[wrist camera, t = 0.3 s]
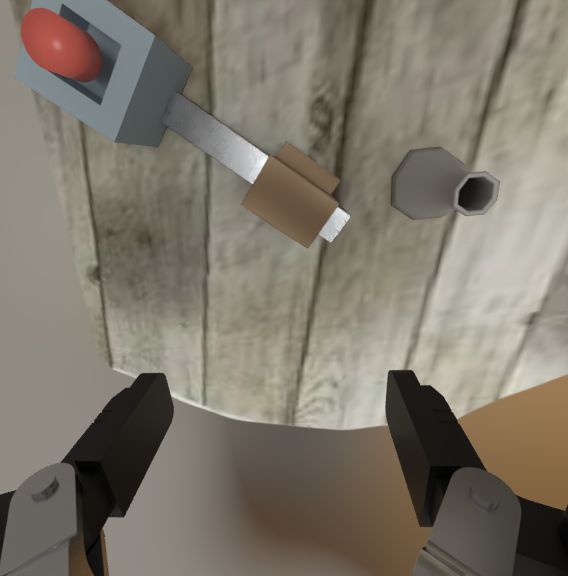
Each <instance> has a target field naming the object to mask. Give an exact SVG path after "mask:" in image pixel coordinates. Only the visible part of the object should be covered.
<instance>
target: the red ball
mask: <svg viewBox="0 0 568 576" xmlns="http://www.w3.org/2000/svg"><path fill="white" fill-rule="evenodd" d="M21 35H22V41H23V44H24V47H25V49H26V51H27V53H28V54H29V56H30V57H31V59H32V60H33V61H34V62H35V63H36V64H37V65H39V66H40V67H42V68H44V69H46V70H48V71H51V72H54V73H57V74H60V75H62V76H65V77H68V78H71V79H73V80H76V81H79V82H90V81H92V80H94V79H95V78H96V77H97V76H98V75H99V73H100V71H101V67H102V56H101V52H100V49H99V46H98V44H97V43H96V41H95V40H94V38H93V37H92V36H91V35H90V34H89V33H87V32H86V31H84V30H83V29H81V28H79V27H78V26H76V25H74V24H73V23H71V22H69V21H68V20H66V19H64V18H63V17H61V16H59V15H58V14H56V13H54V12H53V11H51V10H49V9H46V8H34V9H32V10H30V11H29V12H28V13H27V14H26V15H25V17H24V19H23V22H22V26H21Z"/></svg>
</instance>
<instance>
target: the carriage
mask: <svg viewBox="0 0 568 576" xmlns="http://www.w3.org/2000/svg"><path fill="white" fill-rule="evenodd" d="M340 181H341V180H339V179H338V178H336V177H335V176H334V175H332V174H331V173H330V172H328V171H327V170H325V169H324V168H323V167H321V166H320V165H318V164H317V163H316V162H314V161H313V160H311V159H310V158H309V157H307V156H306V155H305V154H303V153H302V152H300V151H299V150H298V149H296V148H295V147H293V146H292V145H291V144H289V143H288V142H287V141H286V142H285V144H284V146H283V147H282V149H281V151H280V152H279V154H278V156H277V157H276V156H271V155H270V156H269V157H268V159H267V161H266V162H265V164H264V166H263V168H262V169H261V171H260V173H259V174H258V176H257V178H256V180H255V181H254V183H253V185H252V187H251V188H250V190H249V192H248V193H247V195H246V197H245V199H244V200H243V202H242V204H241V205H242V206H244V207H245V208H246V209H248V210H249V211H251V212H252V213H254V214H255V215H257V216H259V217H260V218H262V219H263V220H265V221H266V222H268V223H269V224H271V225H272V226H274V227H275V228H277V229H278V230H280V231H281V232H283V233H284V234H286V235H287V236H289V237H290V238H292V239H293V240H295V241H296V242H298V243H300V244H301V245H303V246H304V247H306V248H309V246H310V245H311V244H312V242H313V241H314V239H315V238H316V237H317V235H318V234H319V232H320V231H321V230H322V228H323V227H324V225H325V224H326V222H327V221H328V220H329V218H330V217H331V215H332V214H333V213H334V211H335V210H336V208H337V207H338V206H339V203H338V202H337V201H336V200H335V199H334V198H333V197H332V195H331V194H332V192H333V191H334V189H335V188H336V186H337V185H338V183H339V182H340Z"/></svg>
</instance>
